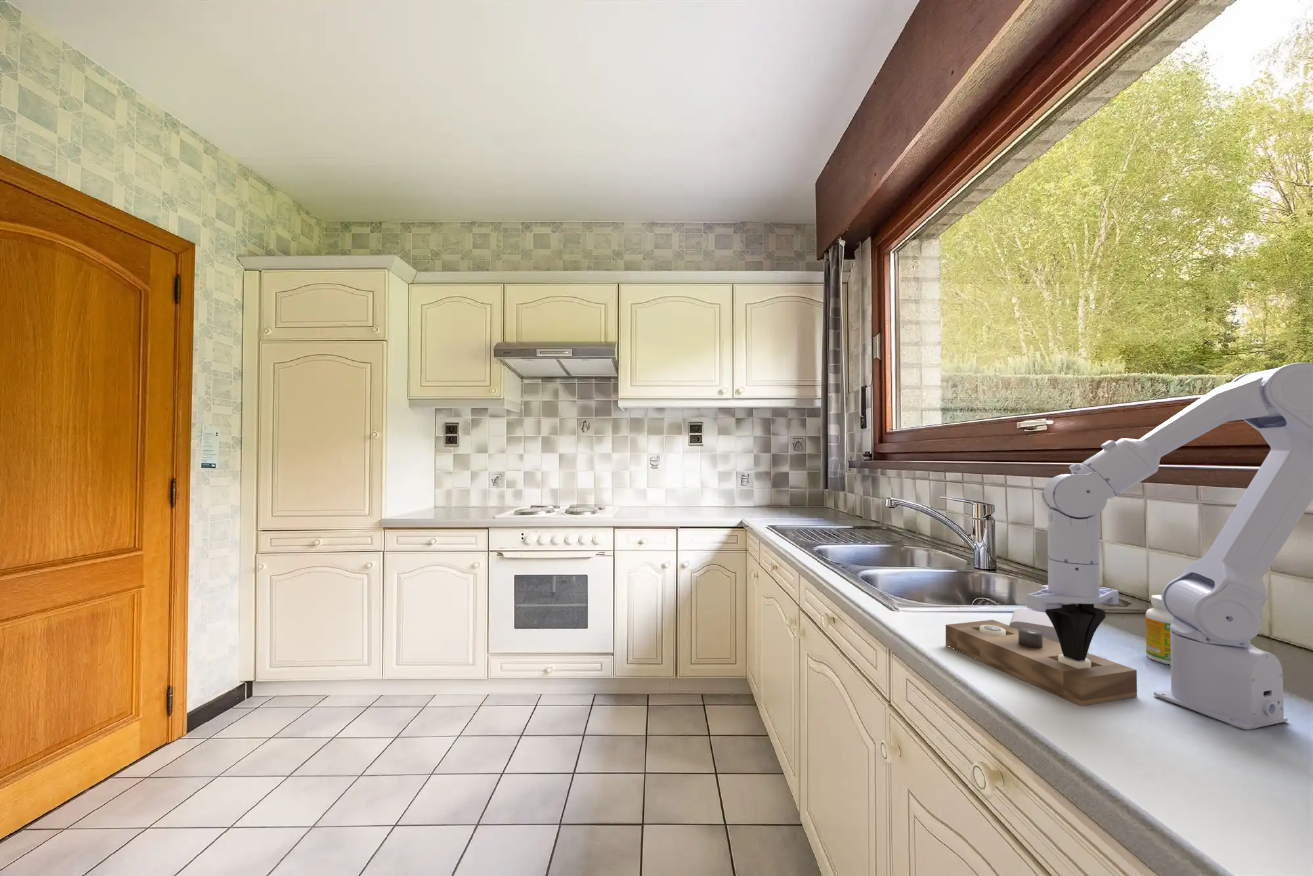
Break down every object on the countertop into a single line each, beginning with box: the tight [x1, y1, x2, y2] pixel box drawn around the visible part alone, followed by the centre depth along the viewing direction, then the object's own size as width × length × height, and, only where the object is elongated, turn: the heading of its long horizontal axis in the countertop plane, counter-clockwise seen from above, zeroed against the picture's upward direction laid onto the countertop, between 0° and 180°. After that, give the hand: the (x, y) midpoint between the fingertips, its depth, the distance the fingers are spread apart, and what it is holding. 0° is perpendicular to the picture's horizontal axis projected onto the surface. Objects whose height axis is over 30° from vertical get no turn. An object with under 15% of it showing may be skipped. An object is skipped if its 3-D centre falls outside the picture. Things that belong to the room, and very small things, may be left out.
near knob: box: [1058, 654, 1091, 669], centre depth 75 cm, size 4×4×3 cm
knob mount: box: [945, 619, 1138, 707], centre depth 81 cm, size 22×10×4 cm, turn 16°
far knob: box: [980, 625, 1006, 637], centre depth 88 cm, size 4×4×3 cm
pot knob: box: [1018, 628, 1043, 648], centre depth 81 cm, size 3×3×2 cm
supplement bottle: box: [1145, 594, 1173, 666], centre depth 85 cm, size 5×5×10 cm
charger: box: [1008, 608, 1059, 643], centre depth 93 cm, size 5×9×15 cm
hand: (1073, 658), depth 75 cm, fingers closed, pressing on near knob
